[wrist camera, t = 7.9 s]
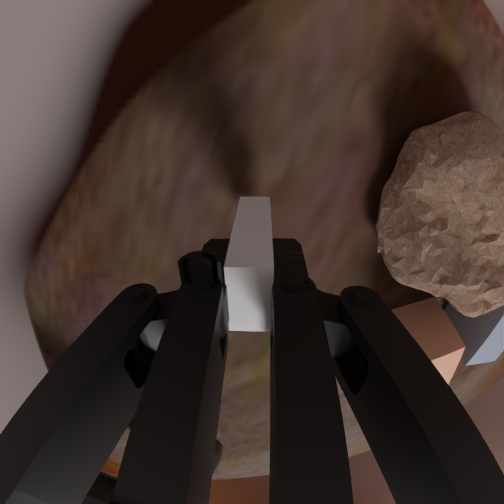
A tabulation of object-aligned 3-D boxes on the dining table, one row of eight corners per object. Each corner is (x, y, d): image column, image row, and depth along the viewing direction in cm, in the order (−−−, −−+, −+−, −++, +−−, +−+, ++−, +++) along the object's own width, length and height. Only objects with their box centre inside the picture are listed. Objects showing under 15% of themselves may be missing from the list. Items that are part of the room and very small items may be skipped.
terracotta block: (370, 357, 23) (384, 410, 18) (371, 314, 20) (393, 373, 15) (424, 340, 22) (446, 388, 17) (434, 295, 19) (465, 346, 14)
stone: (451, 256, 20) (545, 274, 10) (393, 327, 18) (509, 376, 8) (410, 118, 16) (526, 96, 7) (332, 161, 14) (513, 132, 5)
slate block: (438, 317, 20) (465, 365, 15) (474, 252, 17) (515, 296, 12) (469, 318, 21) (494, 360, 16) (502, 261, 17) (537, 299, 12)
